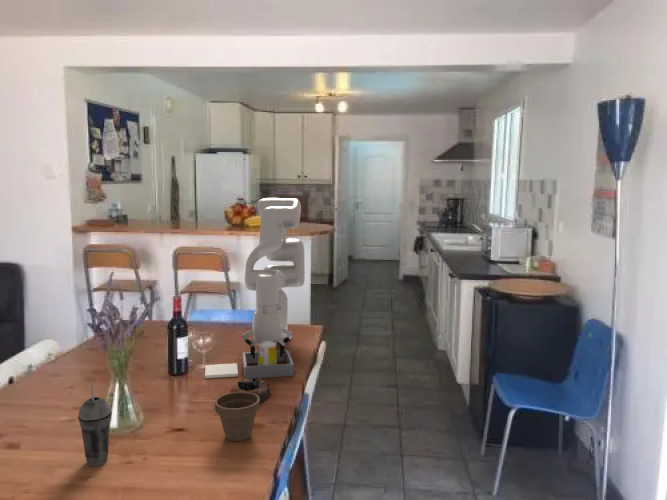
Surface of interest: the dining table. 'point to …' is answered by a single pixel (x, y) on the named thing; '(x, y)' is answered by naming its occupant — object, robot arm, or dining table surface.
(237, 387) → the pastry
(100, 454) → the beverage cup
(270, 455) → the dining table surface
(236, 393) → the flower pot
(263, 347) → the supplement bottle
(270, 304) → the robot arm
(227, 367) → the tile
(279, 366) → the bin
